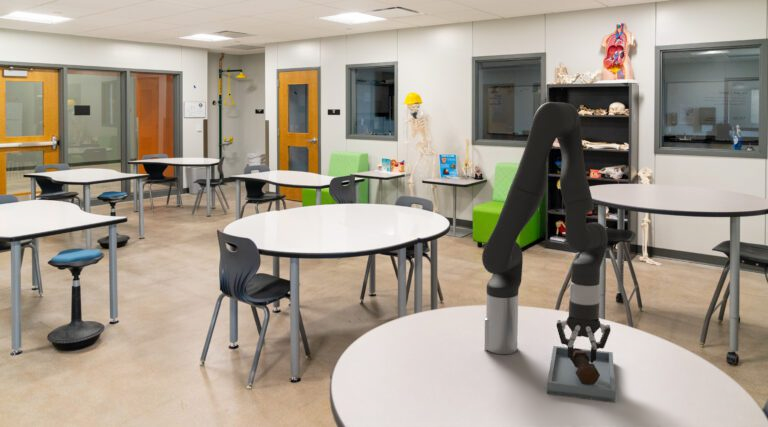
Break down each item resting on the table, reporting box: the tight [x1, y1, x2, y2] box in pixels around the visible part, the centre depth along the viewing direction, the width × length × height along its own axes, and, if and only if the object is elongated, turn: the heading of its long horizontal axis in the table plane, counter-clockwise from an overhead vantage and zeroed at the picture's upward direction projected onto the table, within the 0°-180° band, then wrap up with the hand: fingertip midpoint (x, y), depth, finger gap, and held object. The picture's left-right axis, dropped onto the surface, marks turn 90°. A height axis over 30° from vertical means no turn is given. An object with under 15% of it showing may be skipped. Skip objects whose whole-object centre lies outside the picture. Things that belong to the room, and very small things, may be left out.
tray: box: [546, 345, 616, 403], centre depth 159 cm, size 16×24×3 cm, turn 161°
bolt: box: [571, 347, 600, 385], centre depth 158 cm, size 6×5×15 cm
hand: (581, 360), depth 159 cm, fingers closed on bolt, 4 cm apart
